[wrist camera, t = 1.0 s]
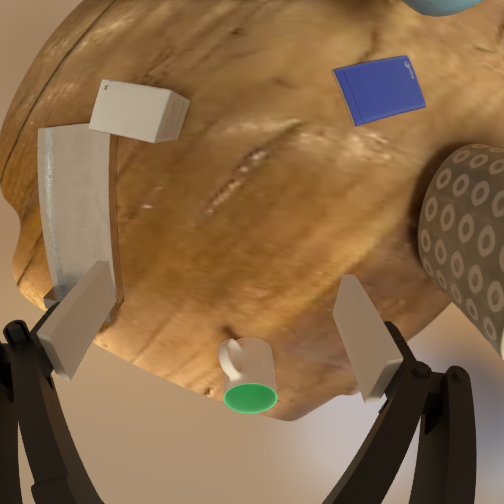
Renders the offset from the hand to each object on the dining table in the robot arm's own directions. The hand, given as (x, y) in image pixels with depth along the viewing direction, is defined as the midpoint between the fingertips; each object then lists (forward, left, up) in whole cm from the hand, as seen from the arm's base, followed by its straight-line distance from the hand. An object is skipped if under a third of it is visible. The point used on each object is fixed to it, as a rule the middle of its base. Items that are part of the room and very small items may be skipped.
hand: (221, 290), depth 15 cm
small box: (-10, -11, -24) cm, 28 cm away
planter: (-3, +38, -24) cm, 45 cm away
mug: (+26, +4, -24) cm, 36 cm away
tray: (+5, -23, -24) cm, 34 cm away
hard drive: (-18, +18, -25) cm, 35 cm away
